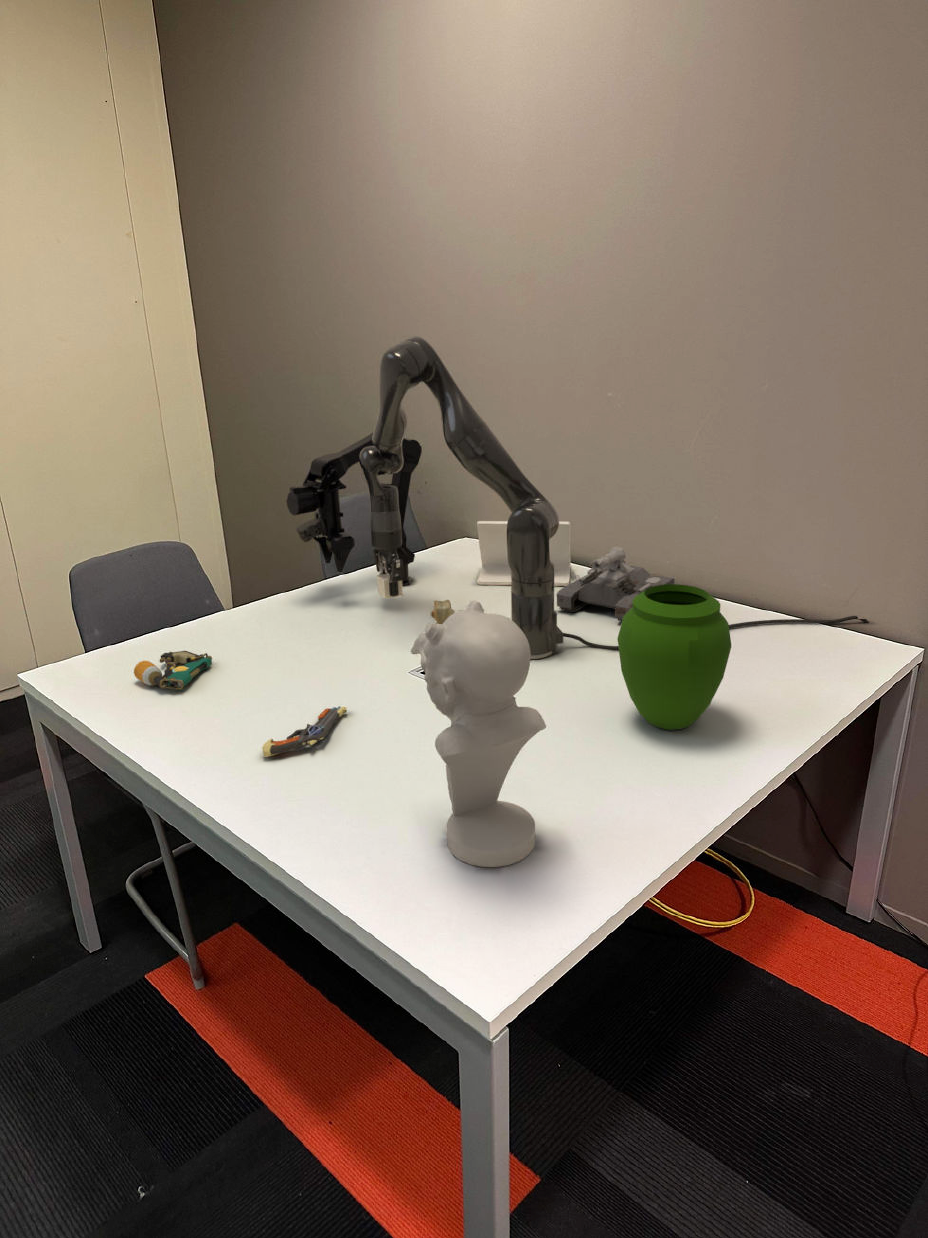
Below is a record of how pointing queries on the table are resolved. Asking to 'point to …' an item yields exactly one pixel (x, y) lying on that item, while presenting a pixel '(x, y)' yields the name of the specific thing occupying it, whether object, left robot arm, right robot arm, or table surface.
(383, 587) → the beige wooden cube
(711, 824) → the table surface
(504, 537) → the tablet stand
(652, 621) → the vase
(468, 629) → the bust sculpture
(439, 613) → the sculpture
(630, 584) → the toy
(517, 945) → the table surface
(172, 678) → the spray gun
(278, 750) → the toy gun
